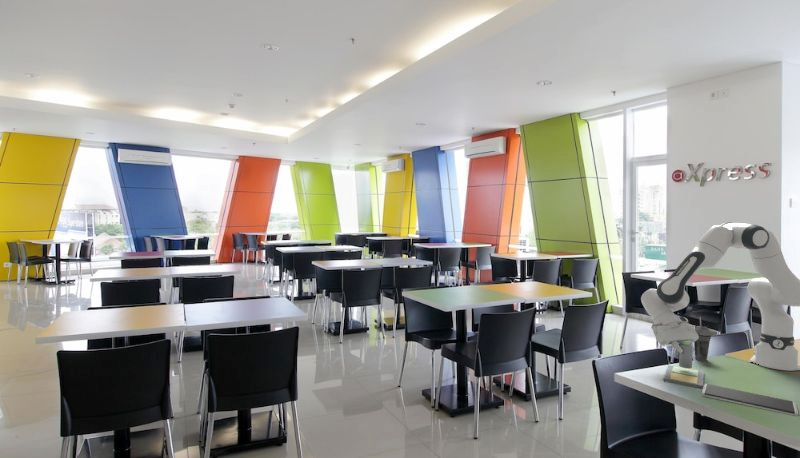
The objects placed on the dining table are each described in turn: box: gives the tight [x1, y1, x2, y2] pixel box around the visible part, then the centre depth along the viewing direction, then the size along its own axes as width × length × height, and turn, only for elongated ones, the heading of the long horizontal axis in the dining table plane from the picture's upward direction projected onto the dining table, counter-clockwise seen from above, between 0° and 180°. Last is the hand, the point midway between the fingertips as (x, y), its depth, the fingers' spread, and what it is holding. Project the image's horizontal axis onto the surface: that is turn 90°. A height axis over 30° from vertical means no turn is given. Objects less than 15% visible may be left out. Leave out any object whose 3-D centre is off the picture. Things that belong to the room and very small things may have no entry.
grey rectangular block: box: [678, 340, 694, 369], centre depth 195 cm, size 5×5×11 cm
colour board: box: [663, 364, 705, 389], centre depth 191 cm, size 22×13×1 cm, turn 146°
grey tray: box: [700, 383, 799, 417], centre depth 167 cm, size 13×27×2 cm, turn 53°
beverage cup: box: [693, 315, 712, 361], centre depth 218 cm, size 7×7×20 cm
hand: (687, 351), depth 194 cm, fingers closed on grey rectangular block, 5 cm apart
